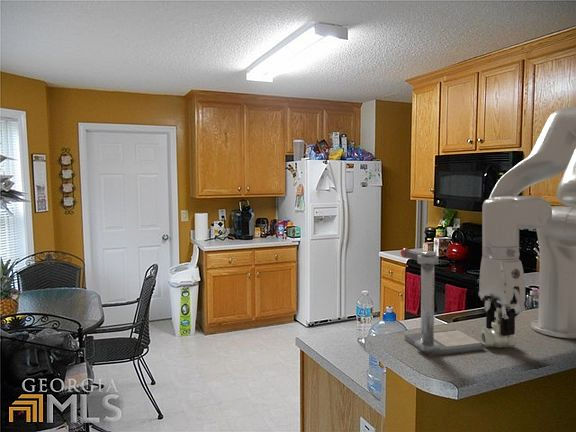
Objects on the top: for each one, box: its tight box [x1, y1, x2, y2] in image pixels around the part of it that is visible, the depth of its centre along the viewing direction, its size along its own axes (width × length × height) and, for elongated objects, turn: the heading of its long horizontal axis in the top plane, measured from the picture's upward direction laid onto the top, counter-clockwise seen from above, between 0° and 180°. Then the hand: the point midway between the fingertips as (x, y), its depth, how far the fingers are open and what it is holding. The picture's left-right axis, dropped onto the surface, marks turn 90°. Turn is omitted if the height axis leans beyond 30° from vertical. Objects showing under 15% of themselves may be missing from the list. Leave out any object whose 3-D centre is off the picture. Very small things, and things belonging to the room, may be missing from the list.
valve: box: [480, 295, 517, 348], centre depth 102 cm, size 7×7×12 cm
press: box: [404, 250, 486, 357], centre depth 104 cm, size 15×11×23 cm
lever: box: [400, 248, 439, 266], centre depth 103 cm, size 13×4×2 cm, turn 14°
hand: (500, 330), depth 102 cm, fingers open, 4 cm apart
